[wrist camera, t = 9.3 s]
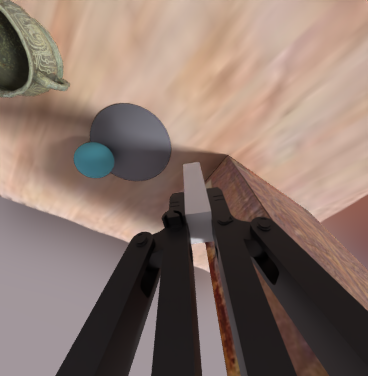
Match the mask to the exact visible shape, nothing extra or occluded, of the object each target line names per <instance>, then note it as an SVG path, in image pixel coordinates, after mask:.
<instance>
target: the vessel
mask: <svg viewBox="0 0 368 376" xmlns="http://www.w3.org/2000/svg"><path fill="white" fill-rule="evenodd" d="M62 77H63V61H62V58H61V55H60V52H59V50H58V47H57V45H56V43H55V42H54V40H53V39H52V37H51V35H50V34H49V32H48V31H47V30H46V29H45V28H44V27H43V26H42V25H41V24H40V23H39V22H38V21H37V20H35V19H33V18H31V17H30V16H29V15H28V14H27V13H26V12H25V11H24V10H23V9H22V8H21V7H20V6H19V5H17V4H15V3H13V2H12V1H10V0H0V97H14V96H17V95H20V96H37V95H40V94H42V93H45V92H47V91H49V90H50V89H54V90H59V91H66V90H67V89H68V86H70V83H69V82H67V81H66V80H64V79H62Z"/></svg>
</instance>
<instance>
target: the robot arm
mask: <svg viewBox="0 0 368 376" xmlns="http://www.w3.org/2000/svg"><path fill="white" fill-rule="evenodd" d="M183 175H184V192H181V193H174V194H172V196H171V197H170V204H169V211H167V212H165V214H164V215H163V216H162V221H163V224H164V227H165V228H164V229H163V230H162V231H160V232H158V233H155V234H153V235H152V234H151V233H149V232H141V233H138V234H137V235H135V236H134V237H133V238H132V240H131V241H130V243H129V245H128V247H127V249H126V251H125V253H124V254H123V256H122V258H121V259H120V261H119V263H118V265H117V267H116V268H115V270H114V272H113V274H112V276H111V277H110V279H109V281H108V283H107V285H106V286H105V288H104V290H103V292H102V293H101V295H100V297H99V299H98V301H97V302H96V304H95V306H94V308H93V309H92V311H91V313H90V315H89V317H88V319H87V320H86V322H85V324H84V326H83V328H82V329H81V331H80V333H79V335H78V337H77V338H76V340H75V342H74V344H73V345H72V347H71V349H70V351H69V353H68V354H67V356H66V358H65V360H64V361H63V363H62V365H61V367H60V369H59V370H58V372H57V374H56V376H128V374H129V371H130V368H131V365H132V362H133V359H134V356H135V352H136V350H137V347H138V344H139V340H140V337H141V334H142V331H143V328H144V325H145V321H146V319H147V315H148V312H149V309H150V306H151V303H152V300H153V297H154V294H155V291H156V288H157V284H158V281H159V278H160V287H159V298H158V309H157V320H156V331H155V341H154V352H153V364H152V374H151V376H202V369H201V356H200V342H199V330H198V317H197V304H196V291H195V279H194V266H193V253H192V247H191V244H195V243H204V242H212V241H214V245H215V256H216V257H217V262H218V267H219V272H220V277H221V282H222V287H223V291H224V296H225V301H226V306H227V311H228V316H229V321H230V326H231V331H232V335H233V340H234V345H235V350H236V355H237V360H238V365H239V370H240V375H241V376H297V374H296V372H295V369H294V366H293V364H292V361H291V359H290V356H289V354H288V351H287V349H286V346H285V344H284V341H283V339H282V336H281V333H280V331H279V328H278V326H277V323H276V321H275V318H274V316H273V313H272V311H271V308H270V306H269V303H268V300H267V298H266V295H265V293H264V290H263V288H262V285H261V283H260V280H259V278H258V275H257V273H256V270H255V268H254V265H255V267H256V268H257V270H258V271H259V273H260V274H261V276H262V277H263V279H264V280H265V282H266V283H267V284H268V286H269V287H270V289H271V290H272V292H273V293H274V295H275V296H276V298H277V299H278V301H279V302H280V304H281V305H282V307H283V308H284V310H285V311H286V313H287V314H288V316H289V317H290V318H291V320H292V321H293V323H294V324H295V326H296V327H297V329H298V330H299V332H300V333H301V335H302V336H303V338H304V339H305V341H306V342H307V344H308V345H309V347H310V348H311V350H312V351H313V352H314V354H315V355H316V357H317V358H318V360H319V361H320V363H321V364H322V366H323V367H324V369H325V370H326V372H327V373H328V375H329V376H368V311H367V310H366V309H365V308H364V307H363V306H362V305H361V304H360V303H359V302H358V301H357V300H356V299H355V298H354V297H353V296H352V295H351V294H350V293H349V292H348V291H347V290H345V289H344V288H343V287H342V286H341V285H340V284H339V283H338V282H337V281H336V280H335V279H334V278H333V277H332V276H331V275H330V274H329V273H328V272H327V271H326V270H325V269H324V268H323V267H321V266H320V265H319V264H318V263H317V262H316V261H315V260H314V259H313V258H312V257H311V256H310V255H309V254H308V253H307V252H306V251H305V250H304V249H303V248H302V247H301V246H300V245H298V244H297V243H296V242H295V241H294V240H293V239H292V238H291V237H290V236H289V235H288V234H287V233H286V232H285V231H284V230H283V229H282V228H281V227H280V226H279V225H278V224H277V223H275V222H274V221H273V220H272V219H270V218H267V217H256V218H254V219H252V221H251V222H248V221H241V220H238V219H236V218H234V216H232V215H231V213H230V210H229V208H228V205H227V202H226V200H225V197H224V195H223V192H222V190H221V189H220V188H218V187H213V188H206V187H205V183H204V179H203V175H202V171H201V166H200V162H194V163H187V164H183ZM253 264H254V265H253ZM160 275H161V277H160Z"/></svg>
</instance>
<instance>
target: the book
mask: <svg viewBox="0 0 368 376" xmlns="http://www.w3.org/2000/svg"><path fill="white" fill-rule="evenodd" d="M205 187H206V188H213V187H218V188H220V189H221V190H222V192H223V195H224V197H225V200H226V202H227V205H228V208H229V210H230V213H231V215H232V216H234V218H236V219H238V220H241V221H248V222H251V221H252V219H254V218H256V217H267V218H270V219H272V220H273V221H274V222H275V223H277V224H278V225H279V226H280V227H281V228H282V229H283V230H284V231H285V232H286V233H287V234H288V235H289V236H290V237H291V238H292V239H293V240H294V241H295V242H296V243H297V244H298V245H300V246H301V247H302V248H303V249H304V250H305V251H306V252H307V253H308V254H309V255H310V256H311V257H312V258H313V259H314V260H315V261H316V262H317V263H318V264H319V265H320V266H321V267H323V268H324V269H325V270H326V271H327V272H328V273H329V274H330V275H331V276H332V277H333V278H334V279H335V280H336V281H337V282H338V283H339V284H340V285H341V286H342V287H343V288H344V289H345V290H347V291H348V292H349V293H350V294H351V295H352V296H353V297H354V298H355V299H356V300H357V301H358V302H359V303H360V304H361V305H362V306H363V307H364V308H365V309H366V310H367V311H368V270H367V269H366V268H365V267H364V266H363V265H362V264H361V263H360V262H359V261H358V260H357V259H356V258H355V257H354V256H353V255H352V254H351V253H350V252H349V251H348V250H347V249H346V248H345V247H344V246H343V245H342V244H341V243H340V242H339V241H338V240H337V239H336V238H335V237H334V236H333V235H332V234H331V233H329V231H327V229H326V228H325V227H324V226H323V225H321V223H320V222H319V221H318V220H317V219H316V218H315V217H314V216H313V215H312V214H311V213H309V212H308V211H307V210H306V209H304V208H303V207H301V206H300V205H299V204H297V203H296V202H294V201H293V200H291V199H290V198H289V197H287V196H286V195H284V194H283V193H281V192H280V191H279V190H277V189H276V188H274V187H273V186H271V185H270V184H269V183H267V182H266V181H264V180H263V179H262V178H260V177H259V176H257V175H256V174H254V173H253V172H252V171H250V170H249V169H247V168H246V167H244V166H243V165H242V164H240V163H239V162H237V161H236V160H234V159H233V158H232V157H230V156H229V155H228V156H227V157H226V158H225V159H224V161H223V162H222V163H221V164H220V165H219V166H218V168H217V169H216V170H215V171H214V172H213V173H212V175H211V176H210V177H209V178H208V179H207V180H206V182H205ZM205 244H206V250H207V256H208V262H209V268H210V274H211V280H212V286H213V292H214V298H215V304H216V310H217V316H218V322H219V328H220V334H221V340H222V346H223V352H224V358H225V364H226V370H227V376H241V375H240V370H239V365H238V360H237V355H236V350H235V345H234V340H233V335H232V331H231V326H230V321H229V316H228V311H227V306H226V301H225V296H224V291H223V287H222V282H221V277H220V272H219V267H218V262H217V257H216V256H215V245H214V241H212V242H205ZM253 265H254V264H253ZM254 268H255V270H256V273H257V275H258V278H259V280H260V283H261V285H262V288H263V290H264V293H265V295H266V298H267V300H268V303H269V306H270V308H271V311H272V313H273V316H274V318H275V321H276V323H277V326H278V328H279V331H280V333H281V336H282V339H283V341H284V344H285V346H286V349H287V351H288V354H289V356H290V359H291V361H292V364H293V366H294V369H295V372H296V374H297V376H329V375H328V373H327V372H326V370H325V369H324V367H323V366H322V364H321V363H320V361H319V360H318V358H317V357H316V355H315V354H314V352H313V351H312V350H311V348H310V347H309V345H308V344H307V342H306V341H305V339H304V338H303V336H302V335H301V333H300V332H299V330H298V329H297V327H296V326H295V324H294V323H293V321H292V320H291V318H290V317H289V316H288V314H287V313H286V311H285V310H284V308H283V307H282V305H281V304H280V302H279V301H278V299H277V298H276V296H275V295H274V293H273V292H272V290H271V289H270V287H269V286H268V284H267V283H266V282H265V280H264V279H263V277H262V276H261V274H260V273H259V271H258V270H257V268H256V267H255V265H254Z"/></svg>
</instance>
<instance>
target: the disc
mask: <svg viewBox="0 0 368 376" xmlns="http://www.w3.org/2000/svg"><path fill="white" fill-rule="evenodd" d="M90 141H91V142H96V143H100V144H102V145H104V146H106V147H107V148H108V149H109V150H110V151H111V152H112V154H113V157H114V167H113V169H112V171H111V173H112V174H114V175H116V176H118V177H120V178H123V179H126V180H131V181H144V180H148V179H151V178H153V177H155V176H157V175H158V174H159V173H161V172H162V171H163V170H164V168H165V167H166V165H167V163H168V161H169V158H170V153H171V143H170V138H169V135H168V133H167V130H166V129H165V127H164V125H163V124H162V123H161V121H160V120H159V119H158V118H157V117H156V116H155V115H154V114H152V113H151V112H150V111H148V110H146V109H144V108H142V107H140V106H137V105H133V104H124V103H122V104H115V105H112V106H109V107H107V108H105V109H104V110H102V111H101V112H100V113H99V114H98V115H97V116H96V118H95V119H94V121H93V123H92V126H91V131H90Z"/></svg>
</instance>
